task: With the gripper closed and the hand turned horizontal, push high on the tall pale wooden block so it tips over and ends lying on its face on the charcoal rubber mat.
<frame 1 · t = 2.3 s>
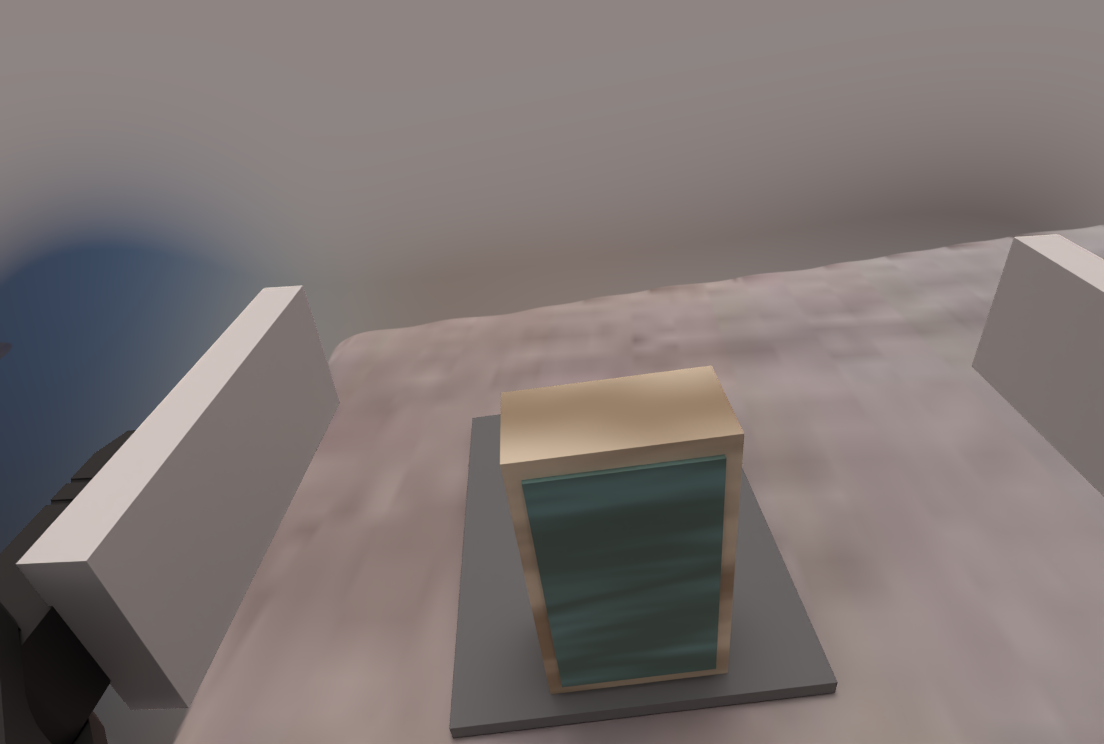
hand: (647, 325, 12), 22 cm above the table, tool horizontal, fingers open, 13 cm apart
block: (631, 643, 30), point 1 cm above the table, touching mat
mat: (610, 526, 37), on the table
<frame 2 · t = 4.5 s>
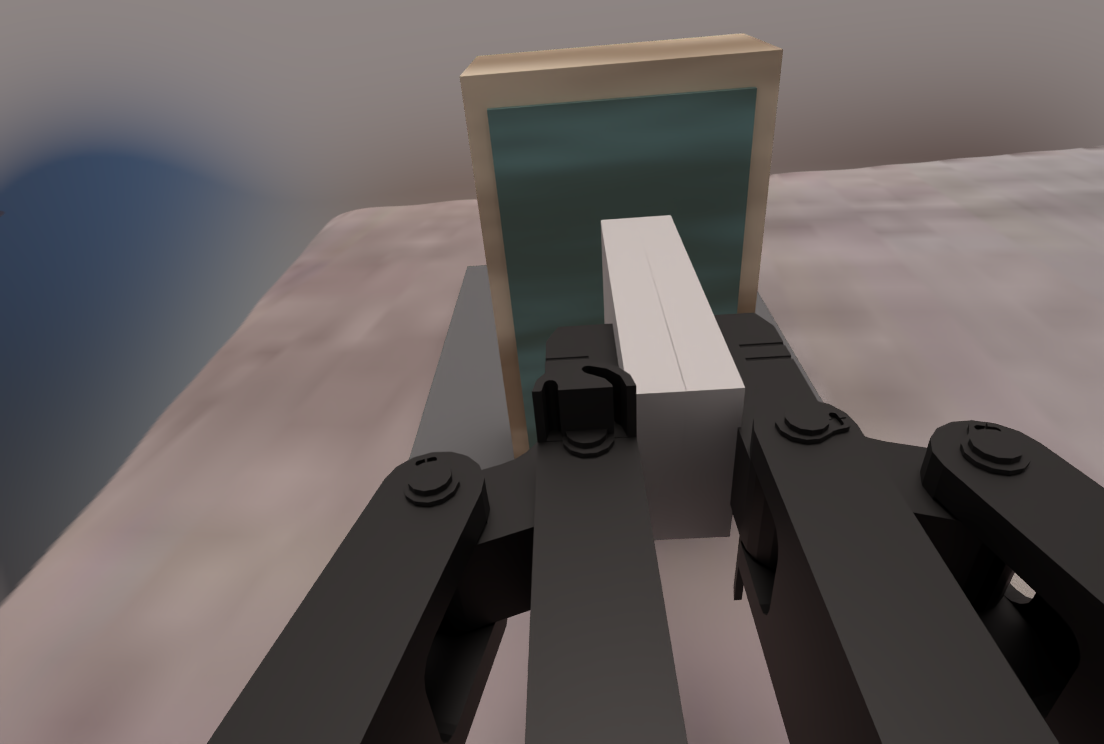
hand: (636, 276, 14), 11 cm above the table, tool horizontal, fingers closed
block: (622, 447, 25), point 1 cm above the table, touching mat
mat: (609, 357, 32), on the table
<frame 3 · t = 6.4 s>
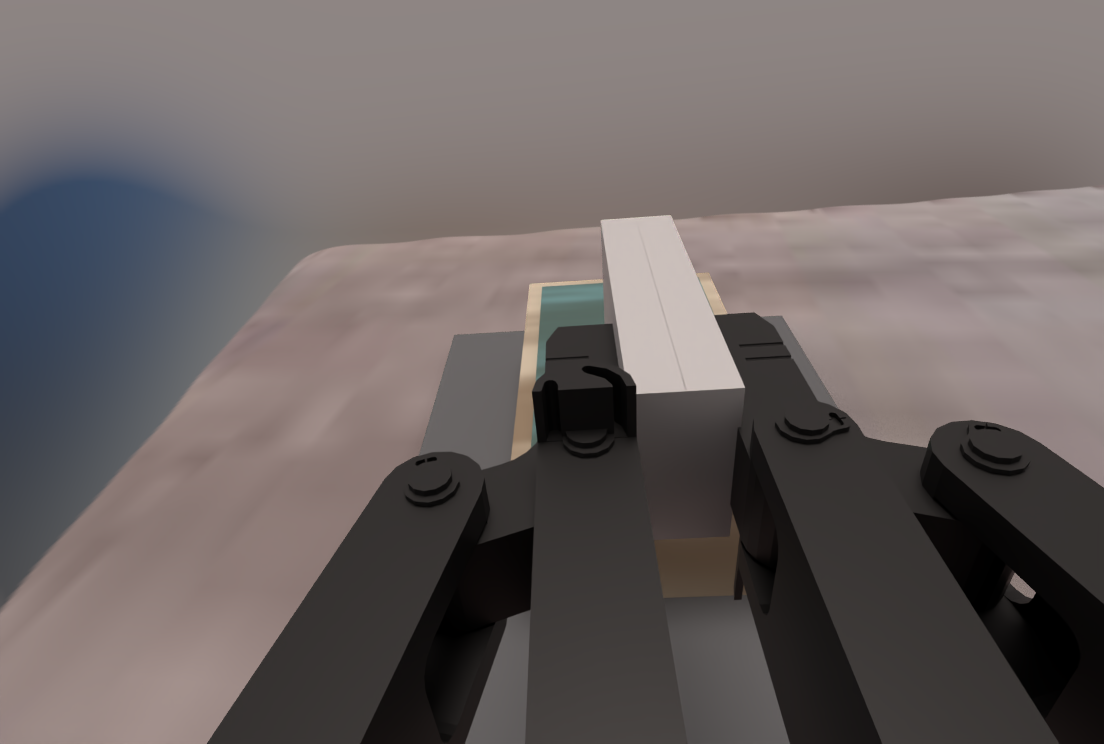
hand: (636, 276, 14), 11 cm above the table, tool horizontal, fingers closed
block: (654, 552, 18), point 3 cm above the table, tilted 90°, touching mat
mat: (635, 482, 24), on the table
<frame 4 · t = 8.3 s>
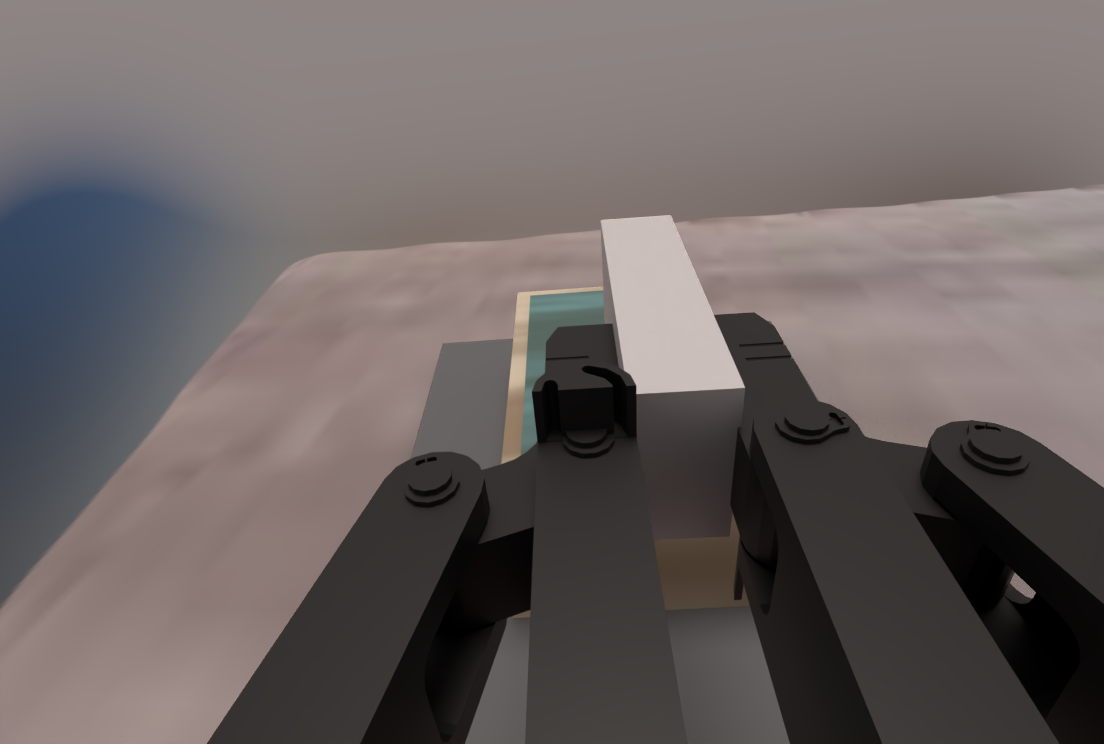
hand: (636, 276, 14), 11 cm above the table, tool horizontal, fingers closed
block: (646, 566, 18), point 3 cm above the table, tilted 90°, touching mat
mat: (626, 492, 24), on the table
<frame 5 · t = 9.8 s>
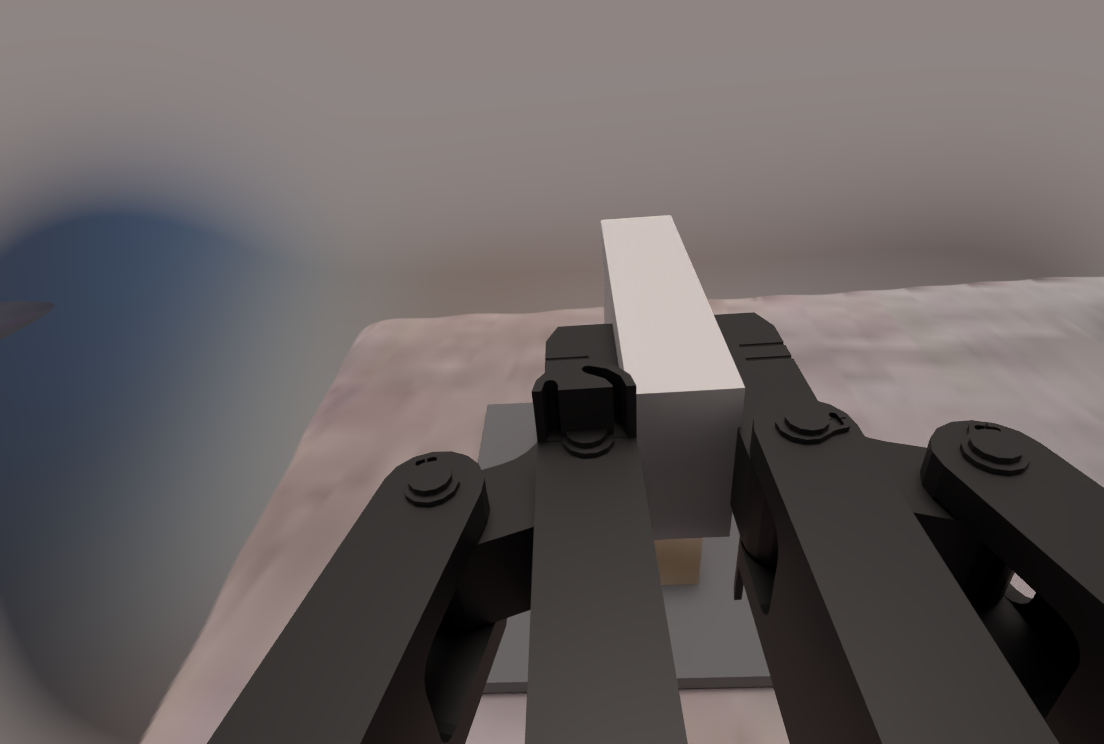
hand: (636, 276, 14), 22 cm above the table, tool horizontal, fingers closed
block: (620, 559, 32), point 3 cm above the table, tilted 90°, touching mat
mat: (612, 515, 38), on the table
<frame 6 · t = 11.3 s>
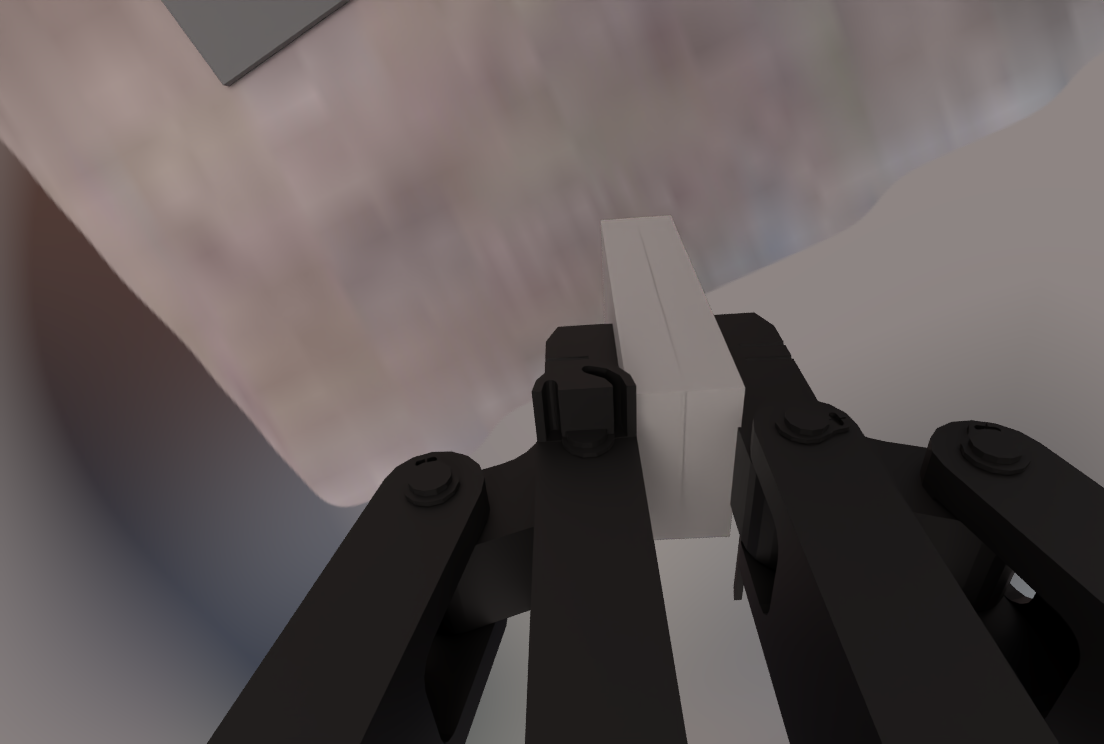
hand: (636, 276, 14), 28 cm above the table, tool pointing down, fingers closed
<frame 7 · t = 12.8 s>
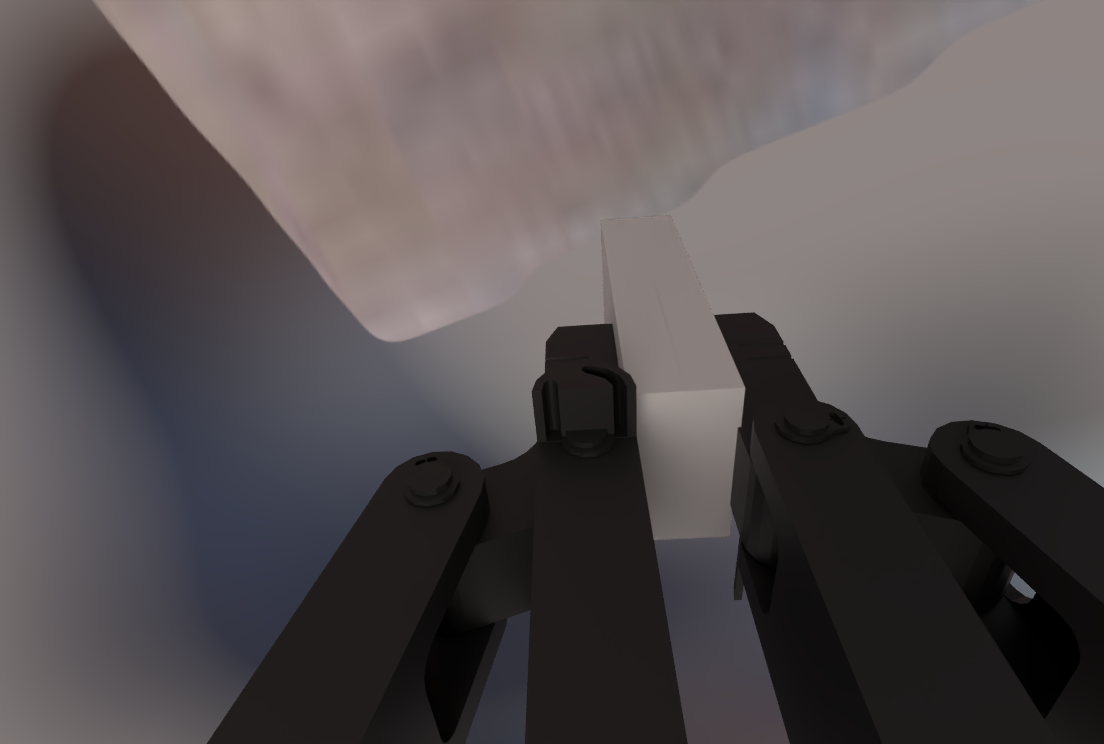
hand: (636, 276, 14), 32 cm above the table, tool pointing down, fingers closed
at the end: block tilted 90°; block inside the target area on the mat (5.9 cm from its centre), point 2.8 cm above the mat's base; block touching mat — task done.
